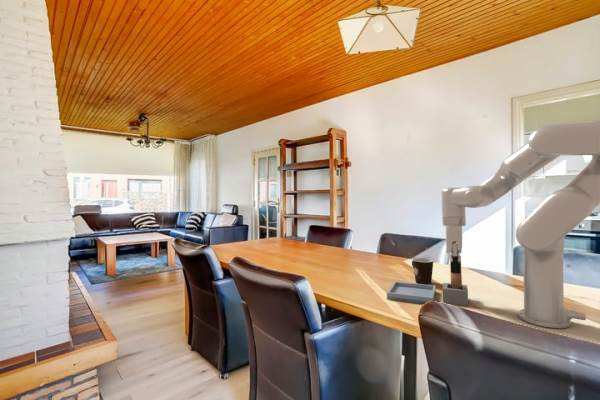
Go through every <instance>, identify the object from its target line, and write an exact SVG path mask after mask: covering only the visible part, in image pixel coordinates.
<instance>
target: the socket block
mask: <svg viewBox="0 0 600 400" xmlns="http://www.w3.org/2000/svg"><path fill="white" fill-rule="evenodd" d="M468 290H469V289H468V285H467V284H462V289H452V288H451V282H450V283H448V282H443V283H442V303H443V302H444V304H451V303H452V304H454V305H459V304H460V306H469V291H468Z"/></svg>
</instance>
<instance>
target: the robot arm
mask: <svg viewBox="0 0 600 400" xmlns="http://www.w3.org/2000/svg"><path fill="white" fill-rule="evenodd" d="M529 135H530V136H529V138H528V140H527V141H528V142H525V144H524V145H522V146H520V148H518V149H517V150H515V151H514V152H513V153H511V154H510V155H509V156H507V157H506V158H505V159H503V161H502V162H501V164H500V167H499V169H498V170H497V171H496V172H495V173H494V174H493V175H492V176H491V177H489V178H488V179H487V180H485V181H484V182H483V183H481V184H480V185H470V186H465V187H445V188H443V189H442V190H441V213H442V214H441V216H442V226H444V227H445V242H446V243H445V246H446V247H445V249H446V251H445V252H446V253H447V254H449V253H450V255H451V273H462V261H461V262H460V256H461V254H462V253H463V251H462V250H463V227H465V226H466V223H467V222H466V220H467V219H466V208H470V209H473V208H474V209H476V208H482V207H487V206H489V205H491V204H492V203H494V202H496V201H498V200H499V199H500V198H502V197H504V196H505V195H506V194H508V193H509V192H510V191H512V190H513V189H515V188H516V187H517V186H519V185H520V184H521V183H523V182H524V181H526V179H528V178H529V177H531V176H532V175H533V174H535V173H536V172H538V171H539V170H542V168H544V167H546V166H548V164H550V163H551V162H553V161H554V160H556V159H557V158H559V157H560V156H591V157H592V158H591V160H590V162H589V163H588V164H587V166H585V167H584V168H583V169H582V170H581V171H580V172H579V173H578V174H577V175H576V176H575V177H574V178H573V179H572V180H571V181H570V182H569V183H568V184H567V185H566V186H564V187H563V188H561V189H558V190H555V191H553V192H552V193H550V194H549V195H548V196H547V197H545V198H544V200H543V201H542V202H541V203H539V204H538V206H536V207H535V209H533V210H532V211H531V213H529V214H528V215H527V216H526V217H525V218H524V219H523V220H522V221H521V222H520V223H519V224H518V226H517V228H516V231H515V237H516V241H517V243H518V244H519V246H521V247H522V248H523V257H522V258H523V261H522V262H523V270H522V271H523V274H522V275H523V309H520V310H518V311H517V315H518V316H517V317H519V318H520V319H521V320H523V321H525V322H527V323H530V324H531V325H535V326H538V327H545V328H551V329H566V328H569V327H571V326H572V319H574V320H575V319H576V320H581V321H586V319H587V316H586V313H584V312H578V311H577V310H573V309H572V310H571V309H567V308H566V307H565V306H564V305H565V301H564V299H565V298H564V295H565V292H564V291H565V290H564V247H565V237H566V236H568V234H569V233H570V232H572V231H573V230H574V229H575V228H576V227H577V226H579V224H581V223H582V222H583V221H584V220H586V218H588V217H589V216H590V215H591V214H592V213H593V212H594V210H595V209H596V208H597V207H598V206H599V205H600V121H587V122H574V123H561V124H560V123H559V124H557V123H556V124H546V125H542V126H540V127H538V128H536V129H534V131H533V132H532V133H531V134H529ZM457 255H458V256H457ZM459 255H460V256H459Z"/></svg>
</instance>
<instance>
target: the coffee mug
mask: <svg viewBox="0 0 600 400" xmlns="http://www.w3.org/2000/svg"><path fill="white" fill-rule="evenodd" d="M411 266H412V268H413V273H414V280H415V284H425V285H431V284H432V278H433V270H434V259H431V258H425V257H424V258H421V257H417V258H413V259H412V261H411Z"/></svg>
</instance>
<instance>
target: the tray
mask: <svg viewBox="0 0 600 400" xmlns="http://www.w3.org/2000/svg"><path fill="white" fill-rule="evenodd" d="M436 292H437V291H436V285H435V284H434V285H433V284H432V285H431V284H429V285H425V284H417V283H416V282H414V283H413V282H404V281H403V282H402V281H394V282H393V283H392V284H391V285H390V287H389V289H388V290H387V292H386V299H387V300H389V301H390V300H391V301H398V302H406V303H407V302H408V303H415V304H422V305H423V304H424V303H426V302H428V301H434V302H435V297H436ZM424 305H425V304H424Z"/></svg>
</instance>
